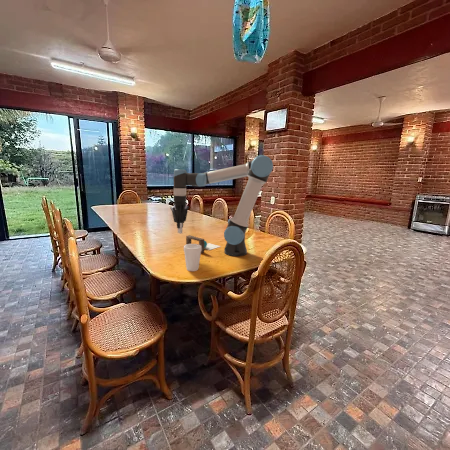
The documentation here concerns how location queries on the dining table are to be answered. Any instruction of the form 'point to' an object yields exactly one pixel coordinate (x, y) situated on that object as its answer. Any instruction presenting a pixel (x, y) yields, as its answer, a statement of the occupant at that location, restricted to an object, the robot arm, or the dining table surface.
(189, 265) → the foam cup
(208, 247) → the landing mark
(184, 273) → the dining table surface
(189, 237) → the bridge
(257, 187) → the robot arm
